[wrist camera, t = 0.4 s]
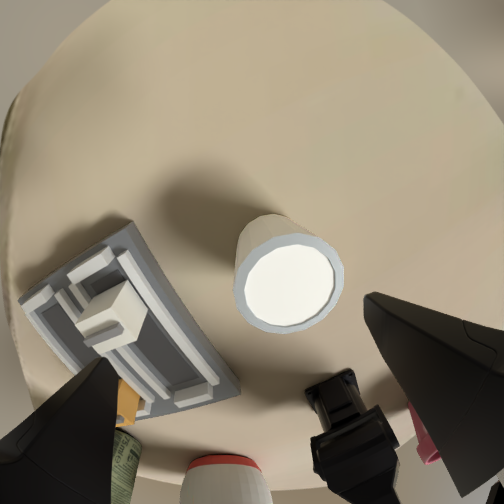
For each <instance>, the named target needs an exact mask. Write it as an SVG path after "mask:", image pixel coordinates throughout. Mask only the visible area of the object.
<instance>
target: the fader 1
mask: <svg viewBox="0 0 504 504" xmlns="http://www.w3.org/2000/svg"><path fill="white" fill-rule="evenodd" d="M147 311H148V309H147V307H146V306H145V304H144V303H143V301H142V300H141V299H140V297H139V296H138V294H137V293H136V291H135V290H134V288H133V287H132V285H131V284H130V282H129V281H128V280H126V281H124V282H122V283H120V284H118V285H116V286H114V287H112V288H110V289H108V290H106V291H105V292H103V293H101V294H99V295H97V296H95V297H93V298H92V300H91V301H90V303H89V304H88V306H87V307H86V308H85V310H84V311H83V313H82V314H81V316H80V317H79V319H78V320H77V322H76V323H75V326H76V328H77V329H78V330H79V331H80V333H81V334H82V335H83V336H84V338H85V339H84V341H83V342H84V343H85V344H86V346H87V347H91V346H92V347H93V348H94V349H95V351H96V352H97V353H98V354H102V353H104V352H107V351H110V350H113V349H115V348H118V347H121V346H123V345H126V344H129V343H131V342H134V341H137V338H138V335H139V333H140V330H141V327H142V324H143V322H144V319H145V316H146V314H147Z"/></svg>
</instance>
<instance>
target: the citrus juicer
mask: <svg viewBox="0 0 504 504" xmlns="http://www.w3.org/2000/svg"><path fill="white" fill-rule="evenodd" d="M180 504H273V502H272V497H271V494H270V490H269V487H268V485H267V482H266V480H265V478H264V476H263V475H262V472H261V470H260V469H259V467H258V466H257V464H256V463H255V462H254V461H253V460H251V459H249V458H246V457H241V456H233V455H207V456H205V457H201V458H198V459H196V460H194V461H192V462H191V464H190V465H189V467H188V469H187V471H186V475H185V478H184V480H183V483H182V488H181V492H180Z"/></svg>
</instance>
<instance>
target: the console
mask: <svg viewBox="0 0 504 504" xmlns="http://www.w3.org/2000/svg"><path fill="white" fill-rule="evenodd" d="M126 280H128V281H129V282H130V284H131V285H132V287H133V288H134V290H135V291H136V293H137V294H138V296H139V297H140V299H141V300H142V301H143V303H144V304H145V306H146V307H147V309H148V311H147V314H146V316H145V319H144V322H143V324H142V327H141V330H140V333H139V335H138V338H137V341H134V342H131V343H129V344H126V345H123V346H121V347H118V348H115V349H113V350H110V351H107V352H104V353H102V354H98V353H97V352H96V351H95V349H94V348H93V347H92V346H91V347H87V346H86V344H85V343H84V342H83V341H84V339H85V338H84V336H83V335H82V334H81V333H80V331H79V330H78V329H77V328H76V326H75V323H76V322H77V320H78V319H79V317H80V316H81V314H82V313H83V311H84V310H85V308H86V307H87V306H88V304H89V303H90V301H91V300H92V298H93V297H95V296H97V295H99V294H101V293H103V292H105V291H106V290H108V289H110V288H112V287H114V286H116V285H118V284H120V283H122V282H124V281H126ZM18 302H19V303H20V305H21V308H22V309H23V311H24V312H25V315H26V317H27V318H28V320H29V321H30V322H31V324H32V325H33V327H34V328H35V329H36V330H37V332H38V333H39V334H40V336H41V337H42V338H43V339H44V341H45V342H46V343H47V344H48V346H49V347H50V348H51V349H52V350H53V352H54V353H55V354H56V355H57V356H58V357H59V359H60V360H61V361H62V362H63V363H64V364H65V365H66V366H67V367H68V368H69V370H70V371H71V372H72V373H73V374H74V375H76V374H77V373H79V372H80V371H81V370H82V369H83V368H84V367H85V366H87V365H88V364H89V363H90V362H91V361H92V360H94V359H95V358H97V357H106V358H108V360H109V361H110V363H111V364H112V366H113V367H114V369H115V370H116V371H117V373H118V376H119V380H120V379H123V380H124V381H125V382H126V383H127V384H128V385H129V386H130V387H131V388H132V389H134V390H135V391H136V392H137V393H138V394H139V395H140V399H139V403H138V408H137V412H136V417H135V421H136V420H142V419H148V418H153V417H158V416H163V415H167V414H172V413H176V412H180V411H185V410H189V409H193V408H196V407H200V406H204V405H207V404H211V403H215V402H218V401H221V400H225V399H228V398H231V397H234V396H237V395H241V389H240V381H239V380H238V378H237V377H236V376H235V374H234V373H233V372H232V371H231V369H230V368H229V367H228V365H227V364H226V363H225V361H224V360H223V359H222V358H221V356H220V355H219V353H218V352H217V351H216V349H215V348H214V347H213V345H212V344H211V343H210V341H209V340H208V338H207V337H206V336H205V334H204V333H203V331H202V330H201V329H200V327H199V326H198V324H197V323H196V321H195V320H194V319H193V317H192V316H191V314H190V313H189V311H188V310H187V308H186V307H185V305H184V304H183V302H182V301H181V299H180V298H179V296H178V295H177V293H176V292H175V290H174V289H173V287H172V285H171V284H170V282H169V281H168V279H167V278H166V276H165V274H164V273H163V271H162V270H161V268H160V266H159V265H158V263H157V261H156V260H155V258H154V256H153V255H152V253H151V251H150V250H149V248H148V246H147V245H146V243H145V241H144V239H143V238H142V236H141V234H140V232H139V231H138V229H137V227H136V225H135V223H134V222H133V221H132V222H130V223H129V224H127V225H125V226H124V227H122V228H120V229H119V230H117V231H115V232H114V233H112V234H110V235H109V236H107V237H105V238H104V239H102V240H100V241H99V242H97V243H96V244H94V245H93V246H91V247H89V248H88V249H86V250H85V251H83V252H82V253H80V254H79V255H77V256H76V257H74V258H73V259H71V260H70V261H68V262H67V263H65V264H64V265H62V266H61V267H59V268H58V269H56V270H55V271H54V272H52V273H51V274H49V275H48V276H47V277H45V278H44V279H42V280H41V281H40V282H38V283H37V284H36V285H34V286H33V287H32V288H30V289H29V290H28V291H26V292H25V293H24V294H23V295H22V296H21V297H20V298H19V299H18Z"/></svg>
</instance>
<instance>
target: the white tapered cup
mask: <svg viewBox="0 0 504 504" xmlns="http://www.w3.org/2000/svg"><path fill="white" fill-rule="evenodd" d="M343 287H344V267H343V265H342V263H341V260H340V258H339V256H338V254H337V252H336V250H335V249H334V248H332V247H331V246H330V245H329V244H327V243H326V242H325V241H323V240H322V239H321V238H320V237H318V236H316V235H315V234H313V233H312V232H310V231H309V230H307V229H305V228H304V227H302V226H301V225H299V224H298V223H296V222H294V221H293V220H291V219H290V218H288V217H286V216H281V215H277V214H269V215H263V216H259V217H258V218H256V219H254V220H253V221H251V222H249V223H248V224H247V225H246V227H245V228H244V229H243V231H242V232H241V233H240V235H239V239H238V244H237V249H236V260H235V271H234V283H233V292H234V297H235V301H236V306H237V309H238V310H239V312H240V313H241V314H242V315H243V317H244V318H245V319H246V320H247V322H248V323H249V324H251V325H253V326H255V327H257V328H259V329H261V330H263V331H265V332H271V333H280V334H288V333H292V332H297V331H301V330H305V329H307V328H309V327H310V326H312V325H314V324H316V323H317V322H319V321H321V320H322V319H323V318H324V317H325V316H326V315H327V314H328V313H329V312H330V311H331V310H332V309H333V307H334V306H335V305H336V304H337V301H338V299H339V296H340V294H341V292H342V289H343Z"/></svg>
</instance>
